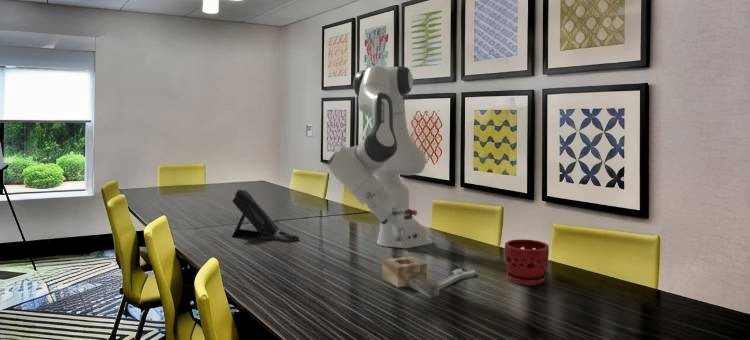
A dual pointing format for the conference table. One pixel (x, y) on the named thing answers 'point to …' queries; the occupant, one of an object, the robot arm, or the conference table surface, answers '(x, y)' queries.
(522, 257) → the plant pot
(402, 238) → the clear glass bottle
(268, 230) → the office phone
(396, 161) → the robot arm
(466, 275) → the adjustable wrench
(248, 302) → the conference table surface
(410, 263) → the mortise block
